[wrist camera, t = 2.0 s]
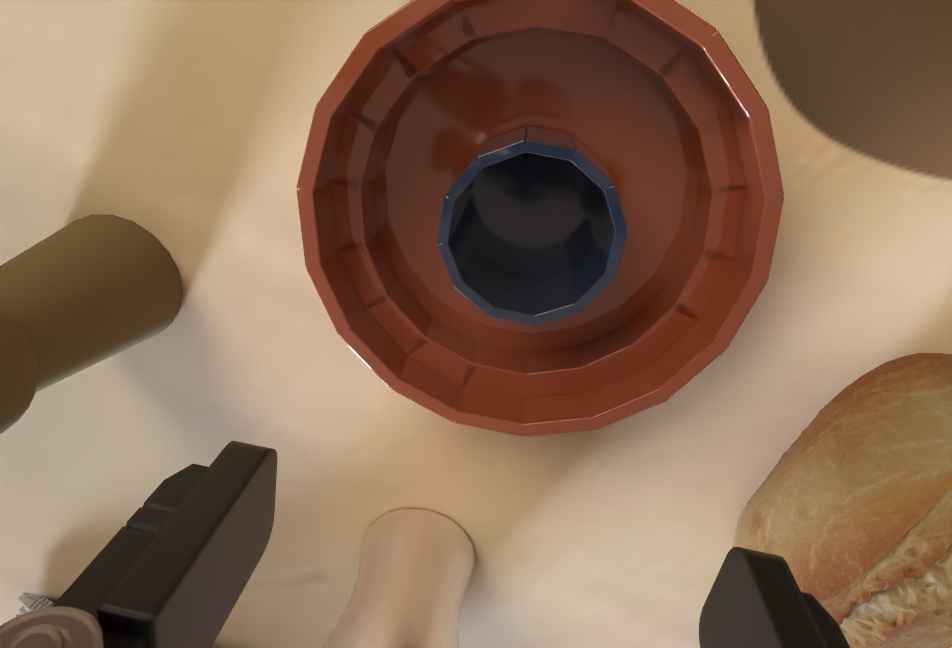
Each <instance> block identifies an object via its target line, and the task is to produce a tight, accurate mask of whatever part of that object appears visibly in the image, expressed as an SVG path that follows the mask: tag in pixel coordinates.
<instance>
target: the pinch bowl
mask: <svg viewBox="0 0 952 648" xmlns="http://www.w3.org/2000/svg"><path fill="white" fill-rule="evenodd" d="M627 231H628V229H627V225H626V222H625V218H624V214H623V211H622V207H621V204H620V200H619V197H618V193H617V189H616V186H615V184H614V183H613V181H612V179H611V177H610V176H609V174H608V172H607V171H606V169H605V167H604V166H603V164H602V162H601V161H600V160H599V159H597V158H596V157H595V156H594V155H593V154H592V153H591V152H590V151H589V150H588V149H586V148H585V147H584V146H583V145H582V144H581V143H580V142H579V141H578V140H577V139H576V138H574V137H573V136H572V135H571V136H570V134H568V133H563V132H557V131H552V130H547V129H542V128H536V127H531V126H528V128H527V127H526V126H525V127H522V128H520V129H517V130H514V131H511V132H509V133H506V134H503V135H501V136H498V137H495V138H492V139H490V140H487V141H486V142H484V143H483V145H482V146H481V147H480V148H479V150H478V151H477V152H476V153H475V154H474V156H473V157H472V158H471V159H470V161H469V162H468V163H467V164H466V165H465V167H464V168H463V169H462V170H461V172H460V173H459V174H458V176H457V177H456V179H455V180H454V182H453V183H452V185H451V186H450V188H449V189H448V191H447V192H446V194H445V196H444V198H443V203H442V210H441V217H440V223H439V230H438V236H437V243H438V244H437V247H438V249H439V252H440V254H441V257H442V259H443V262H444V264H445V267H446V269H447V272H448V274H449V277H450V279H451V282H452V284H453V286H455V289H456V290H458V291H459V292H460V293H461V294H463V295H464V296H465V297H466V298H467V299H469V300H470V301H471V302H472V303H474V304H475V305H476V306H477V307H479V308H480V309H481V310H482V311H483V312H485V313H486V314H487V315H491V317H494V318H499V319H504V320H510V321H515V322H520V323H525V324H530V325H535V323H536V325H539V324H543V323H546V322H549V321H553V320H556V319H560V318H563V317H566V316H570V315H573V314H577V313H579V312H580V311H583V310H584V309H585V308H586V307H587V306H588V305H589V304H590V303H591V302H592V301H593V300H594V299H595V298H596V297H597V296H598V295H599V294H600V293H601V292H602V291H603V290H604V289H605V288H606V287H607V286H608V285H609V284H610V283H611V282H612V281H613V280H614V278H613V277H616V274H617V270H618V267H619V263H620V260H621V256H622V253H623V249H624V245H625V242H626V238H627V235H628V233H627Z"/></svg>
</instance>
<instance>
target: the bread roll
mask: <svg viewBox="0 0 952 648" xmlns="http://www.w3.org/2000/svg"><path fill="white" fill-rule="evenodd" d="M733 547H741V548H746V549H751V550H756V551H761V552H766V553H770V554H775V555H779V556H781V557H783V558H784V559H785V561H786V562H787V564H788V566H789V568H790V570H791V572H792V574H793V576H794V578H795V580H796V582H797V584H798V586H799V588H800V591H801V592H804V593H809V594H812V595H813V596H814V597H815V598H816V600H817V601H818V602H819V603H820V604H821V605H822V606H823V607H824V608H825V609H826V611H827V612H828V613H829V614H830V615H831V616H832V617H833V618H834V619H835V621H836V622H837V623H838V625H839V627H840V628H841V630H842V632H843V634H844V636H845V638H846V640H847V642H848V644H849V646H850V648H951V647H952V354H951V355H947V354H937V353H918V354H913V355H908V356H904V357H901V358H898V359H895V360H892V361H889V362H887V363H884V364H882V365H880V366H879V367H877V368H875V369H873V370H872V371H870V372H868V373H866V374H865V375H863V376H861V377H860V378H859V379H857V380H856V381H854V382H853V383H852V384H850V385H849V386H847V387H846V388H845V389H844V390H842V391H841V392H840V393H839V394H838V395H837V396H836V397H835V398H834V399H833V400H832V401H830V402H829V403H828V404H827V405H826V406H825V407H824V408H823V409H822V410H820V412H819V413H818V415H817V416H816V417H815V419H814V420H813V421H812V422H811V424H810V425H809V426H808V427H807V428H806V429H805V430H804V431H802V433H801V434H800V436H799V437H798V439H797V440H796V441H795V442H794V443H793V444H792V446H791V447H790V448H789V449H788V451H787V452H785V453H784V455H783V456H782V458H781V459H780V461H779V463H778V464H777V465H776V467H775V468H774V469H773V471H772V472H771V473H770V475H769V476H768V477H767V479H766V480H765V481H764V482H763V484H762V485H761V486H760V487H759V489H758V490H757V491H756V493H755V494H754V495H753V496H752V498H751V499H750V501H749V502H748V504H747V505H746V507H745V508H744V510H743V512H742V513H741V515H740V517H739V520H738V524H737V527H736V532H735V537H734V544H733Z"/></svg>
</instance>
